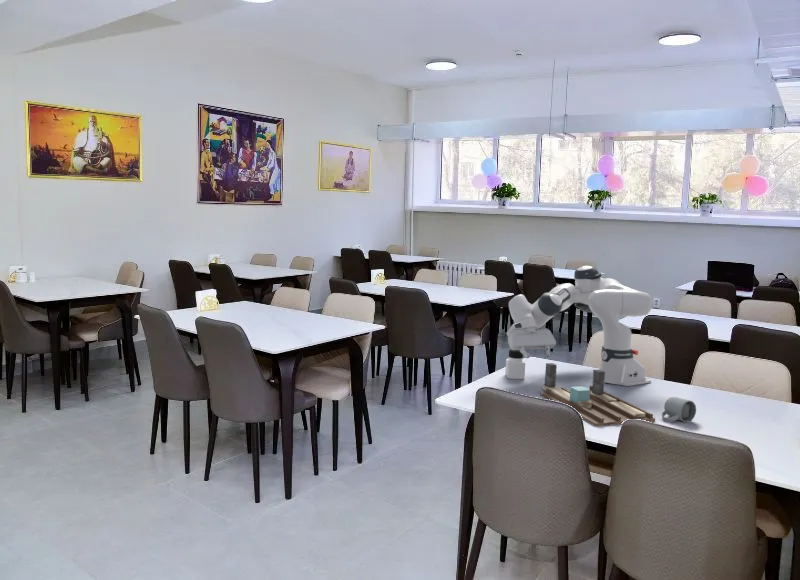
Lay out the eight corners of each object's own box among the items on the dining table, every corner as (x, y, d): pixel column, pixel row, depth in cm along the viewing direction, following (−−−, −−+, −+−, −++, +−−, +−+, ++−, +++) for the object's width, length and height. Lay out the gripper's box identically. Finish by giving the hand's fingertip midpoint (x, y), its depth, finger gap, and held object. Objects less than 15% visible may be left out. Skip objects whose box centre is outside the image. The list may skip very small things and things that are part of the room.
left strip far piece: (620, 404, 237) (620, 401, 237) (645, 416, 224) (645, 413, 224) (608, 405, 236) (608, 402, 235) (633, 417, 222) (633, 414, 222)
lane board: (593, 391, 257) (594, 385, 256) (655, 421, 223) (655, 413, 223) (540, 395, 249) (541, 388, 249) (595, 426, 216) (596, 418, 215)
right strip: (553, 387, 257) (554, 362, 255) (591, 407, 232) (593, 380, 231) (542, 388, 255) (543, 363, 254) (579, 408, 231) (581, 381, 229)
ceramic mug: (676, 414, 231) (678, 393, 230) (695, 421, 224) (697, 399, 223) (655, 417, 227) (656, 396, 226) (673, 425, 220) (675, 403, 219)
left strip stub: (600, 395, 248) (602, 369, 247) (616, 402, 239) (618, 376, 238) (589, 395, 247) (591, 370, 245) (605, 403, 237) (607, 376, 236)
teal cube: (581, 399, 238) (582, 386, 237) (589, 403, 233) (590, 390, 233) (569, 400, 237) (570, 387, 236) (577, 404, 232) (578, 390, 231)
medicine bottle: (524, 379, 272) (526, 351, 271) (507, 378, 272) (509, 351, 271) (521, 375, 279) (523, 347, 278) (505, 374, 279) (506, 347, 278)
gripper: (545, 332, 275) (556, 359, 268) (503, 333, 269) (513, 362, 261) (552, 323, 271) (563, 351, 263) (508, 325, 264) (518, 354, 256)
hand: (537, 357), depth 262 cm, fingers open, 8 cm apart
